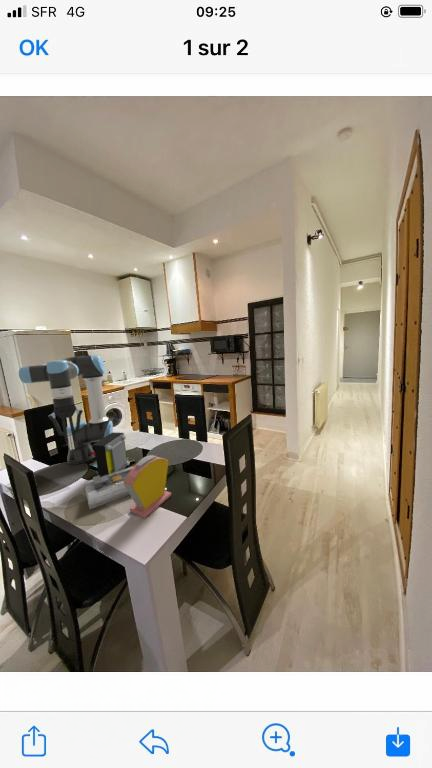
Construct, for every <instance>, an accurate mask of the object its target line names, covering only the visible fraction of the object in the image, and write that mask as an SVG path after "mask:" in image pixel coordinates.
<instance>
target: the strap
mask: <svg viewBox="0 0 432 768" xmlns="http://www.w3.org/2000/svg"><path fill="white" fill-rule="evenodd" d="M126 477H127V475H125V476H122V477H121V476H120V475H118V476H114V477H112V480H109V481H108V482H105V483H102V484H103V487H106V486H109V485H112V484H115V483H118V482H121V481H124V480H125V478H126Z"/></svg>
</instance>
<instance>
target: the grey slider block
mask: <svg viewBox="0 0 432 768" xmlns="http://www.w3.org/2000/svg"><path fill="white" fill-rule="evenodd" d="M92 479H93V481H94V487H95V490H97V489H100V488H103V484H102V483H105V482H108V481H109V479H108V477H107V476H105V477H102V478H101V477H100V475H95V476H93V477H92Z"/></svg>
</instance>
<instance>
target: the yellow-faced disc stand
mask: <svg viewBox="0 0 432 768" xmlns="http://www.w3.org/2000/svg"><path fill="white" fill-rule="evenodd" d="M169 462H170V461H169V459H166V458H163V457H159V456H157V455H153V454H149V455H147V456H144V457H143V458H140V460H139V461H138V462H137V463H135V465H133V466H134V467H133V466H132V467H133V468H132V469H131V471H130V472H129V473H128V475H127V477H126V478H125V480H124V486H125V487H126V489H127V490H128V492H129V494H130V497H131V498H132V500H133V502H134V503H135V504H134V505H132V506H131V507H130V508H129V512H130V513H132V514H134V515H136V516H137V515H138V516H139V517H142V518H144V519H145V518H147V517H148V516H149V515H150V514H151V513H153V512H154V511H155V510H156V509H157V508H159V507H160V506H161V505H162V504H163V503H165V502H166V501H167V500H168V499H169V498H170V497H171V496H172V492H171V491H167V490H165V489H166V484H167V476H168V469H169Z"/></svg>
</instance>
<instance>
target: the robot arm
mask: <svg viewBox="0 0 432 768" xmlns="http://www.w3.org/2000/svg"><path fill="white" fill-rule="evenodd" d="M104 374H106V366H105V363H104V360H103V358H102V357H101V356H100V355H97V354H90V355H79V356H75V355H74V356H70V357H65V358H62V359H57V360H49V361H46V363H42V364H36V365H27V366H26V365H25V366H21V367H20V368H19V369H18V378H19V380H20V381H21V383H23V384H35V383H43V382H44V383H45V382H49V387H50V392H51V397H52V403H53V407H54V408H53V412H52V413H51V414H49V415H48V419H49V420H50V421H51V422H52V423H53V427H54V428H55V430H56V432H57V434H58V435H59V436H62V437H64V442H65V443H66V444H67V446H68V447H67V448H68V453H67V459H66V461H67V464H69V463H70V464H69V465H73V464H74V465H78V464H77V463H81V464H84V463H86V462H89V461H90V460H92V459H94V457H95V456H94V455H93V454H92V452H94V451H93V449H92V446H91V444H90V443H96V442H98V441H100V440H101V439H103V438H104V437H106V436H107V435H109V434H111V433H114V431H113V430H114V422H113V421H112V420H110V418H109V417H108V416H107V414H106V407H105V400H104V392H103V387H102V386H103V385H102V378H103V377H104ZM78 376H79V377H80V376H81V379H82V380H83V381H84V382H85V388H86V393H87V400H88V401H87V402H88V407H89V412H90V419H89V421H88V423H87V422H86V421H81V417H82V414H83V412H84V411H83V409H82V408H77V406H76V405H75V400H74V396H73V393H74V392H73V387H72V383H71V382H72V380H73V379H75V378H77V377H78ZM75 413H76V422H75V423H74V422H73V416H74V414H75ZM56 416H57V417H58V418H59V419H61V424H62V429H63V431H62V429H61V427H60V425H59V423H58V422H57V419H56ZM66 419H68V422H69V425H68V426H67V424H66Z"/></svg>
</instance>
